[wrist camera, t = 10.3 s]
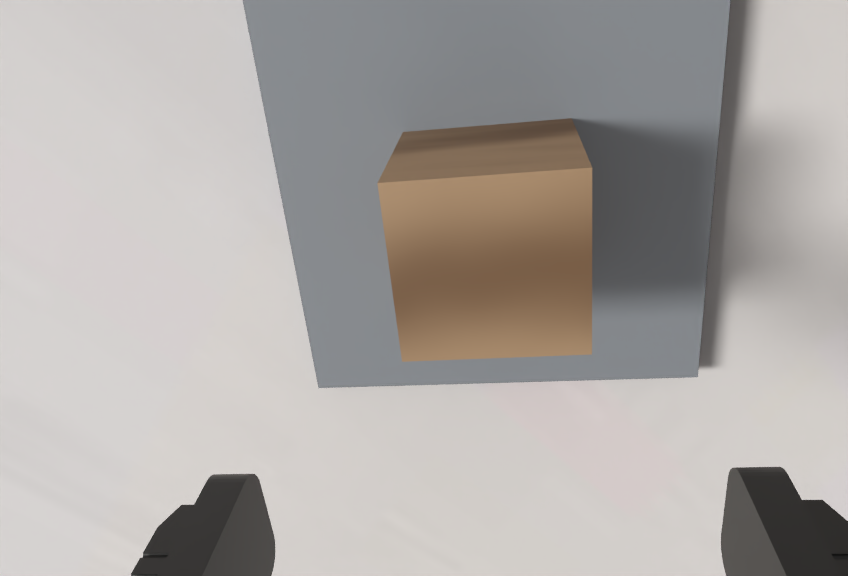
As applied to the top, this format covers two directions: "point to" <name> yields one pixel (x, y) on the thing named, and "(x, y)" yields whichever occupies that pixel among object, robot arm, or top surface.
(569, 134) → the walnut block
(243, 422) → the top surface
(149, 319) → the top surface
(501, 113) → the slate plate
